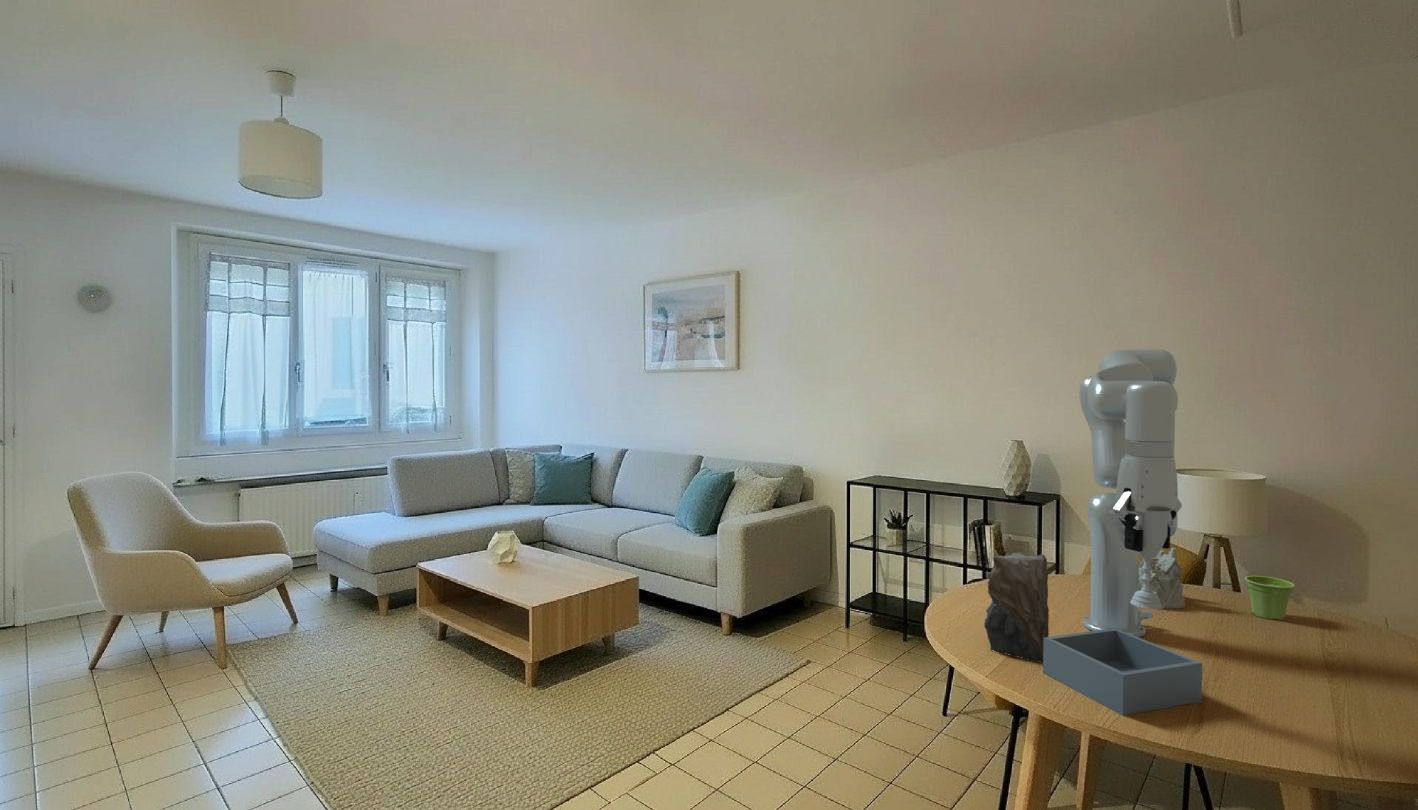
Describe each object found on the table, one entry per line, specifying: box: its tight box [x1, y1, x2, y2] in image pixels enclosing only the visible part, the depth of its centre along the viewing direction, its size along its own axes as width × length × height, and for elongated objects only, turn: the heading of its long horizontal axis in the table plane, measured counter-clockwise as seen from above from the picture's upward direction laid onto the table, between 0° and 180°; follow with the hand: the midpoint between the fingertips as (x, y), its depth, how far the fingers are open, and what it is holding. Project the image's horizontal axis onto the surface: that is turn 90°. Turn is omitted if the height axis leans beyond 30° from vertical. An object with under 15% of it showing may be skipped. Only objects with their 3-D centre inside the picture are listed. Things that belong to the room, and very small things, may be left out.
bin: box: [1042, 628, 1203, 716], centre depth 127 cm, size 18×18×7 cm
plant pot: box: [1244, 575, 1295, 621], centre depth 165 cm, size 9×9×9 cm
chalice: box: [1130, 508, 1171, 610], centre depth 123 cm, size 7×7×18 cm
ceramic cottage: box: [1138, 547, 1186, 610], centre depth 179 cm, size 16×16×15 cm
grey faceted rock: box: [983, 551, 1050, 663], centre depth 145 cm, size 13×13×20 cm
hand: (1147, 547), depth 123 cm, fingers closed on chalice, 5 cm apart
